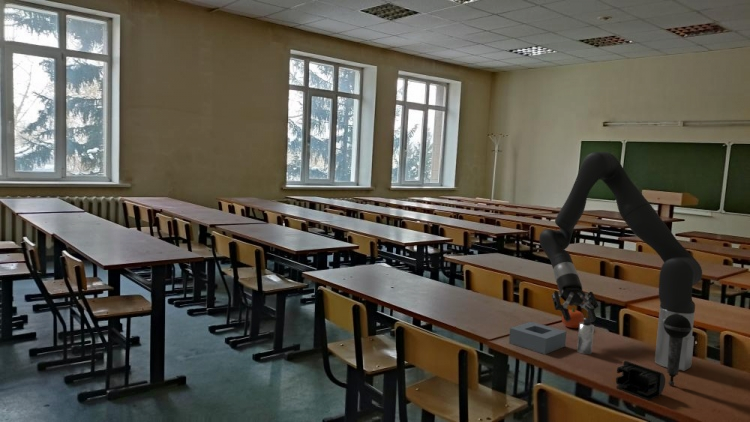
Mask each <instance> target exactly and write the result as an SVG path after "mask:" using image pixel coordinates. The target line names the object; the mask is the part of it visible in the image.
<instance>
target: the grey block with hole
mask: <svg viewBox="0 0 750 422" xmlns="http://www.w3.org/2000/svg"><path fill="white" fill-rule="evenodd" d="M566 339H567V331H566V330H564V329H563V330H562V329H559V328H555V327H552V326H548V325H544V324H540V323H538V322H534V321H529V322H526V323H523V324H522V323H521V324H519V325H517V326H516V325H515V326H512V327H510V328H509V339H508V340H509V341H508V343H509V344H511V345H514V346H518V347H521V348H523V349H527V350H530V351H533V352H536V353H539V354H543V355H546V354H549V353H551V352H556V351H557V350H559V349H562V348H564V347H566V344H567V343H566V342H567V340H566Z"/></svg>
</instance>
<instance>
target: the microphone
mask: <svg viewBox="0 0 750 422" xmlns="http://www.w3.org/2000/svg"><path fill="white" fill-rule="evenodd" d="M663 326H664V329H665V331H666V333H667V334H668V335H669V351H668V367H666V368H667V371H666V373H667V374H668V376H670V380H669V382H668V385H669V386H672V387H673V386H674V385H675V382H674V377H675V378H676V376H678V375H679V370H678V369H679V362H680V355H681V348H682V341H683V338H684V337H686V336H687V335H688V334H689V333H690V331H691V329H692V328H691V324H690V322H689V320H688V319H687V318H686V317H684V316H682V315H679V314H673V315H670V316H668V317H667V318H666V319H665V321H664V323H663Z"/></svg>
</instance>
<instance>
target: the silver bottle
mask: <svg viewBox="0 0 750 422" xmlns="http://www.w3.org/2000/svg"><path fill="white" fill-rule="evenodd" d="M594 329H595V325H594V324H592V323H591V319H590V318H589V317H584V321H583V323H579V328H578V336H577V346H576V347H577V348H576V352H577V353H579V354H581V355H592V354H593V353H592V352H593V344H594V343H593V342H594V332H595V331H594Z"/></svg>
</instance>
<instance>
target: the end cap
mask: <svg viewBox="0 0 750 422" xmlns="http://www.w3.org/2000/svg"><path fill="white" fill-rule="evenodd" d="M620 373H622V374H621V375H620V376H617V377H616V378H615V383H616V389H617V390H619V391H621V392H625V393H627V394H629V395H632V396H635V397H638V398H640V399H643V400H645V401H652V400H654V398H655V399H656V398H658V397H659V396H660V395H661V394H663V391H664V389H665V385H666V376H665V374H664V373H662V372H660V371H657V370H656V369H655V370H654V369H652V368H649V367H645V366H642V365H639V364H637V363H634V362H630V361H628V360H624V361H623V365H620V366H618V367H617V369H616V374H620Z"/></svg>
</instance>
